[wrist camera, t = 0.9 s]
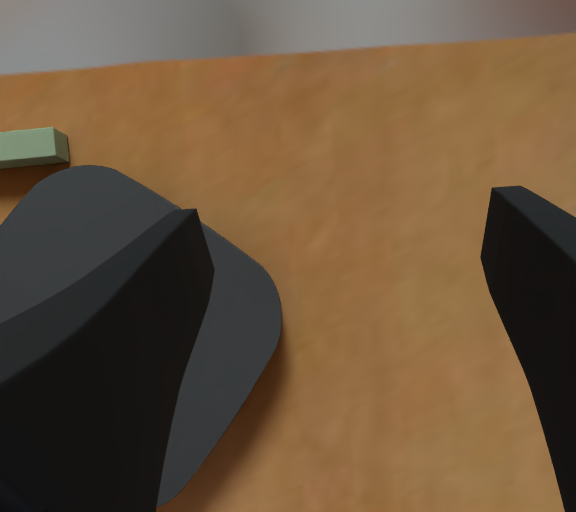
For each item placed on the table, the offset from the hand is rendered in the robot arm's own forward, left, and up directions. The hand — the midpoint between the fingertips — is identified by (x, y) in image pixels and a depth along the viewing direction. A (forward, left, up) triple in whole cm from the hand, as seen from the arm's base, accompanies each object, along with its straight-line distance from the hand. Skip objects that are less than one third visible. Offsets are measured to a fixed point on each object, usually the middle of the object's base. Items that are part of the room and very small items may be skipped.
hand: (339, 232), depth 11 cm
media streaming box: (-3, +10, -13) cm, 17 cm away
